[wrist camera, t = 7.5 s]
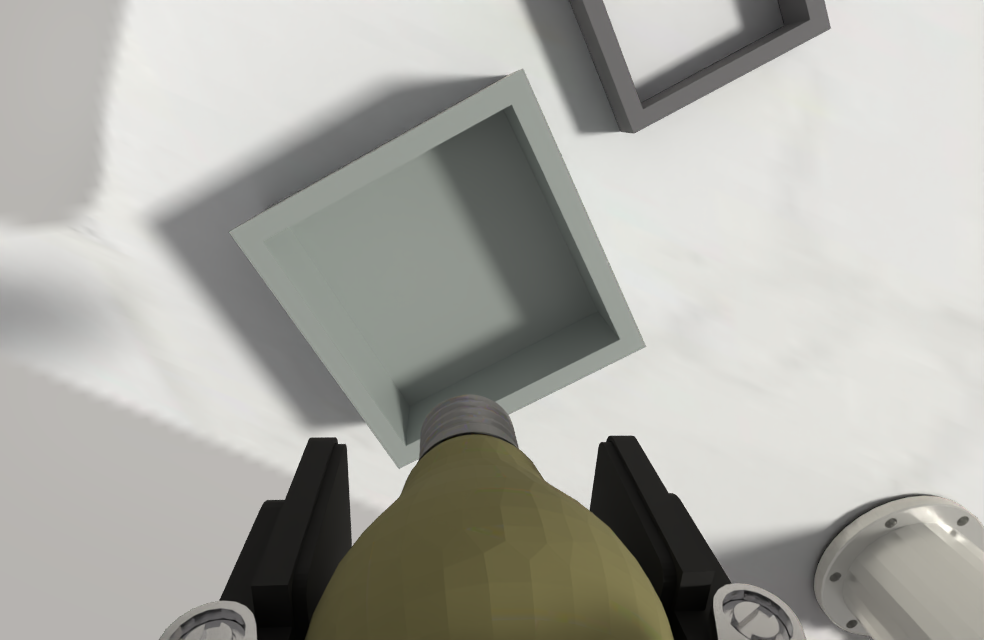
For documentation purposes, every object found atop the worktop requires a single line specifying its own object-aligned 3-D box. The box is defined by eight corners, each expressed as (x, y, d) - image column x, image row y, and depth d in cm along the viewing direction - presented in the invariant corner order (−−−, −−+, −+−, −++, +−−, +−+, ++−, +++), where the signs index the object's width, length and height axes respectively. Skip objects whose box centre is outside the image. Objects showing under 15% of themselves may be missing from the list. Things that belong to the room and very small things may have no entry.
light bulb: (517, 526, 16) (621, 1077, 7) (334, 474, 15) (168, 1058, 6) (602, 368, 15) (886, 817, 5) (405, 295, 13) (332, 714, 4)
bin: (615, 311, 32) (646, 346, 27) (404, 417, 33) (398, 468, 28) (508, 75, 27) (522, 68, 22) (263, 211, 28) (228, 232, 23)
